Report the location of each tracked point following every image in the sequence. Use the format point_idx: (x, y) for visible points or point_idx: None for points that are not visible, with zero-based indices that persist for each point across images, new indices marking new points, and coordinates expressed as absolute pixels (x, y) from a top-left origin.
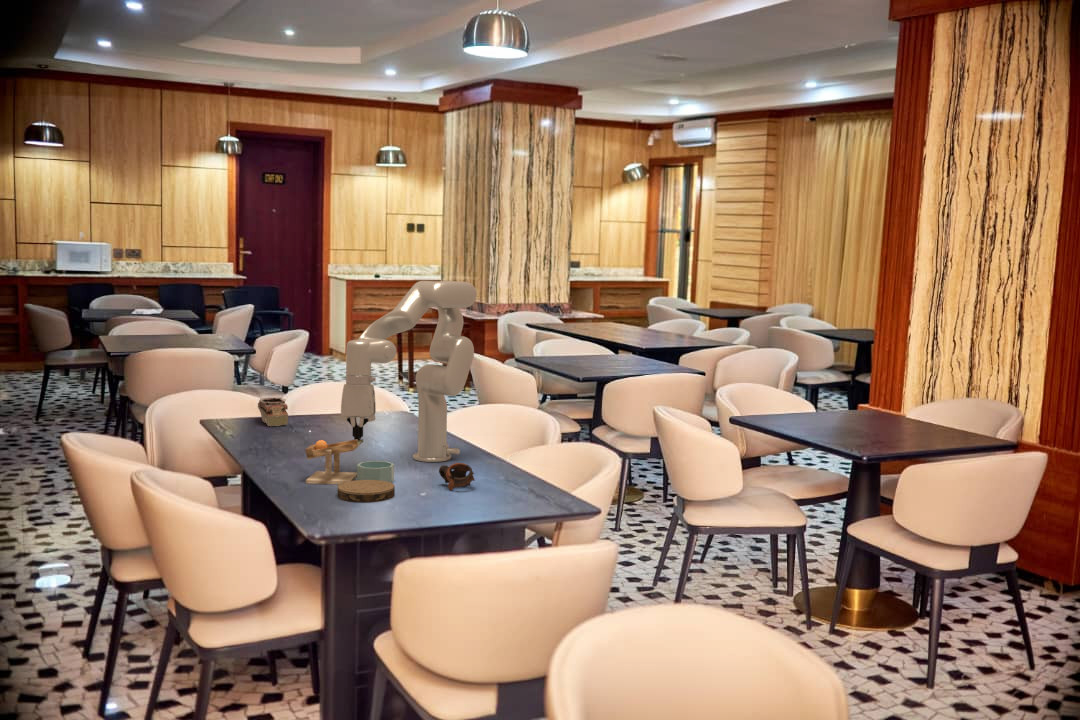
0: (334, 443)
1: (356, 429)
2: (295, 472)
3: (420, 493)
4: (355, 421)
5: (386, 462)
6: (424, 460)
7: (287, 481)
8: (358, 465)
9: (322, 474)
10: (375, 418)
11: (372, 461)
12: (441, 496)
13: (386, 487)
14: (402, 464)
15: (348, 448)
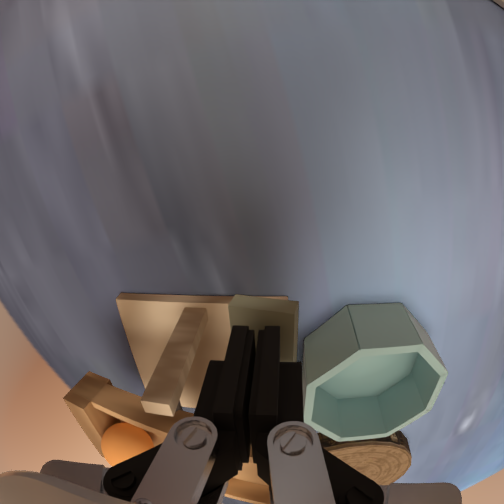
0: (158, 432)
1: (248, 451)
2: (51, 269)
3: (462, 422)
4: (198, 471)
5: (422, 356)
6: (501, 4)
7: (99, 374)
8: (309, 421)
9: (159, 344)
10: (459, 497)
11: (362, 354)
12: (490, 424)
13: (391, 474)
14: (436, 35)
15: (268, 491)
